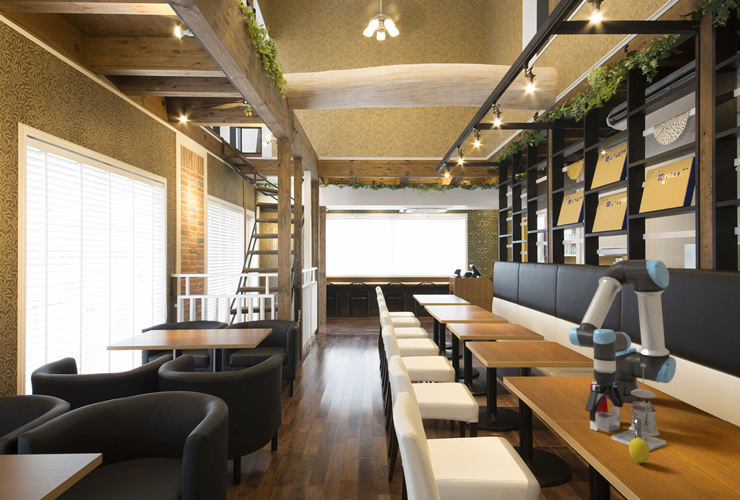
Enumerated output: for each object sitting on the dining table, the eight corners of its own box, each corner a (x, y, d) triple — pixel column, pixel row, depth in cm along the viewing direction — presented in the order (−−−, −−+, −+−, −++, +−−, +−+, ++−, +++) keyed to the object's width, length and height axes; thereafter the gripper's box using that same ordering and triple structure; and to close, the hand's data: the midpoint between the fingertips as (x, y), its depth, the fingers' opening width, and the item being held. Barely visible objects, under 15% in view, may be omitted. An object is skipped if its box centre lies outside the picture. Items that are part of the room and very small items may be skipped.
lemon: (625, 459, 140) (624, 434, 140) (641, 459, 140) (641, 433, 141) (637, 467, 134) (636, 441, 135) (654, 467, 135) (653, 440, 135)
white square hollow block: (602, 422, 173) (602, 411, 173) (619, 428, 166) (619, 416, 167) (591, 425, 169) (590, 414, 169) (608, 431, 163) (608, 419, 163)
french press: (655, 427, 168) (654, 361, 168) (664, 439, 157) (663, 368, 157) (626, 424, 171) (625, 359, 172) (633, 435, 160) (632, 366, 161)
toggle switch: (630, 432, 162) (630, 411, 163) (665, 444, 152) (665, 422, 152) (611, 438, 156) (611, 417, 157) (646, 451, 146) (646, 428, 146)
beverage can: (610, 423, 172) (610, 384, 173) (592, 421, 173) (592, 383, 174) (605, 418, 178) (605, 380, 178) (588, 416, 179) (587, 379, 180)
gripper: (614, 364, 178) (615, 417, 177) (574, 371, 166) (575, 429, 165) (633, 368, 171) (634, 423, 171) (593, 376, 159) (594, 435, 158)
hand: (605, 426), depth 168 cm, fingers open, 13 cm apart
